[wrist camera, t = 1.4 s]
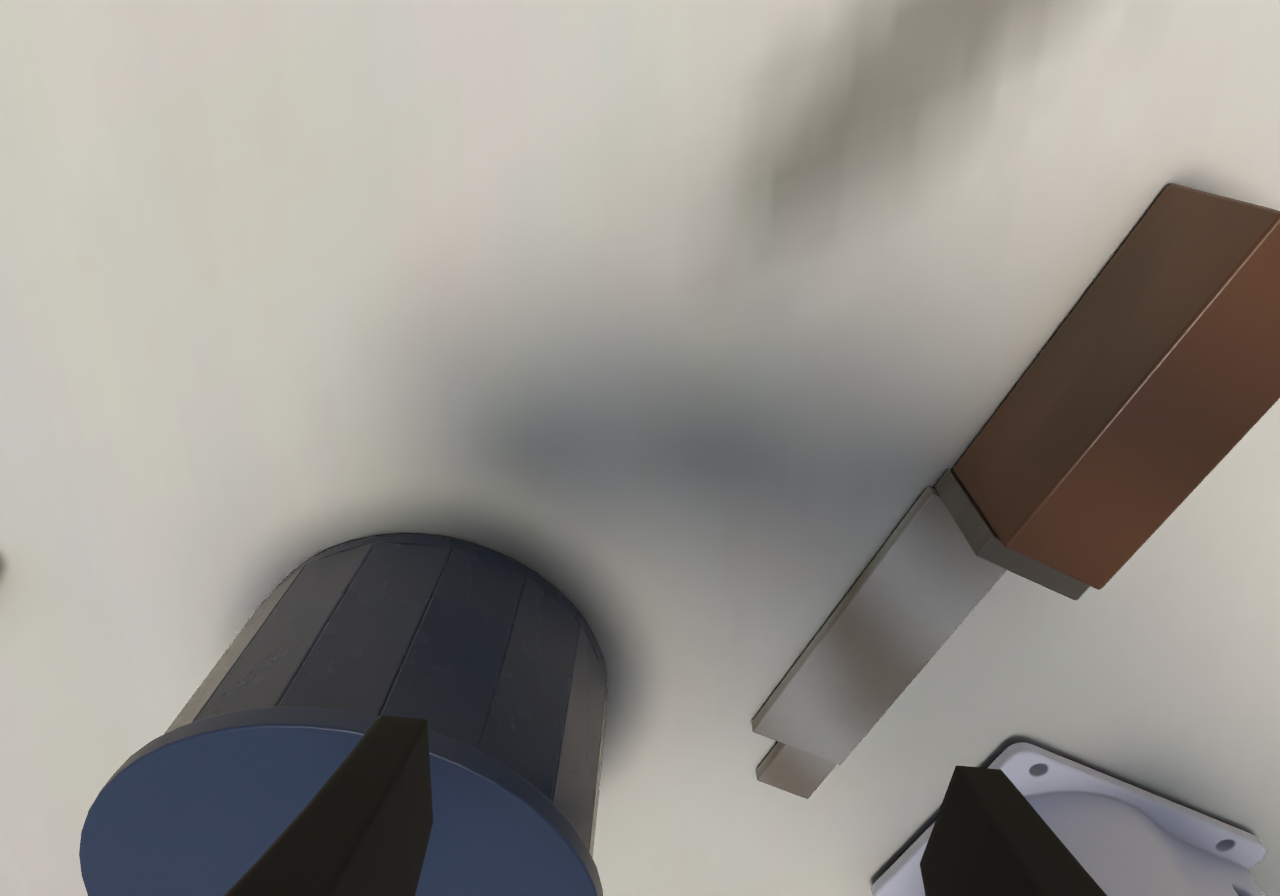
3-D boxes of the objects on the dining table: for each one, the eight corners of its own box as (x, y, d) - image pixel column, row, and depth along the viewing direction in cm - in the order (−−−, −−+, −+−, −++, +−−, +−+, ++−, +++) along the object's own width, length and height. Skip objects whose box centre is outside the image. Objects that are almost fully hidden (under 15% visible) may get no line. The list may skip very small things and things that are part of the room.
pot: (666, 619, 22) (665, 827, 16) (530, 837, 26) (489, 1064, 20) (307, 474, 20) (157, 647, 14) (225, 733, 24) (83, 948, 18)
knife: (1158, 176, 16) (1272, 204, 13) (1271, 240, 16) (1407, 282, 13) (723, 758, 24) (731, 860, 21) (808, 789, 24) (828, 894, 21)
